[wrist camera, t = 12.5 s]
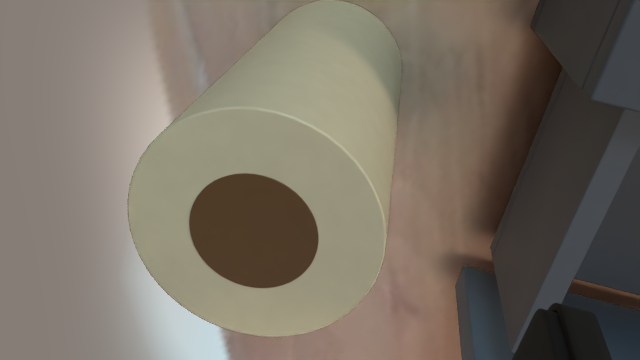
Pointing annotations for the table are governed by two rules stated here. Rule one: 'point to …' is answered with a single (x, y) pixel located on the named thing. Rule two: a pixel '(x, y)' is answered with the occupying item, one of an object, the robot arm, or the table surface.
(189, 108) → the paper roll
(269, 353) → the table surface
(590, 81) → the cabinet
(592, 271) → the drawer
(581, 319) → the robot arm
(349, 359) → the table surface
